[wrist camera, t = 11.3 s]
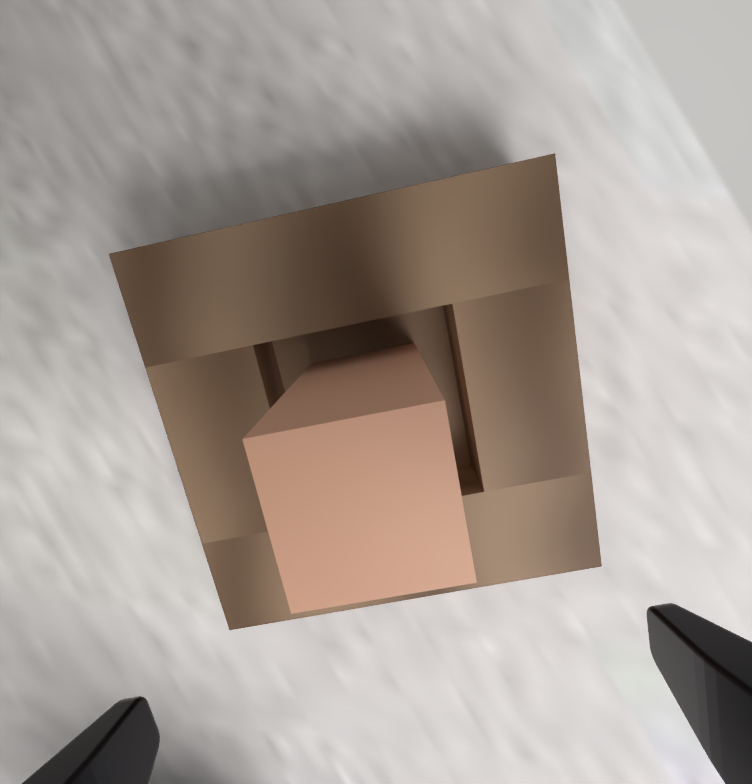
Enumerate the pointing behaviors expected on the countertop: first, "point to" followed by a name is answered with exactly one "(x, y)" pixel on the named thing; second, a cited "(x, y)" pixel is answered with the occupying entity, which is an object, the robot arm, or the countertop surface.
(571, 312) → the walnut socket block
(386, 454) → the terracotta peg
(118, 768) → the robot arm
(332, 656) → the countertop surface
